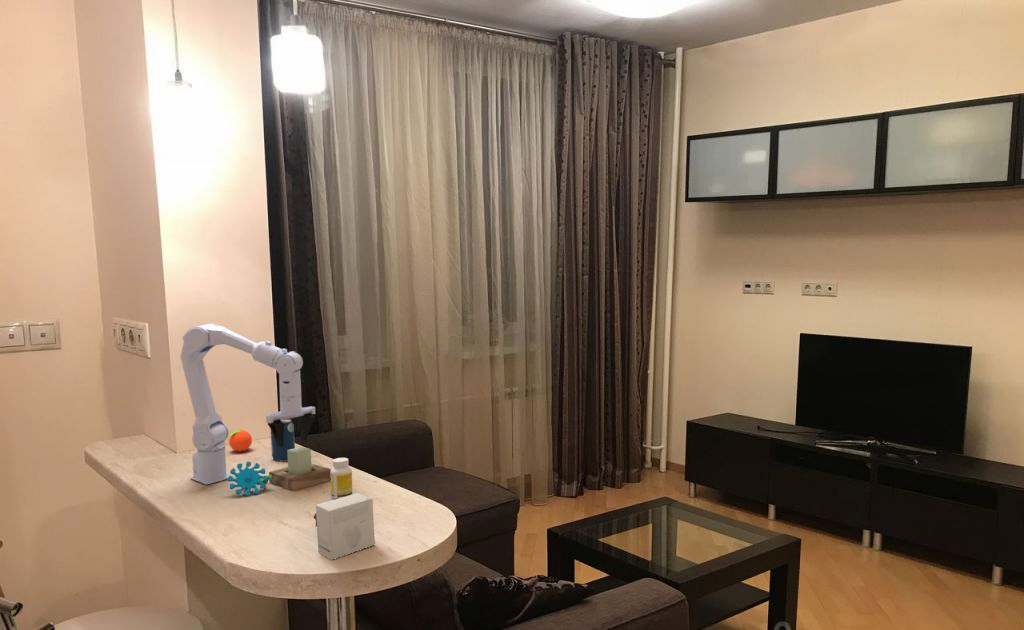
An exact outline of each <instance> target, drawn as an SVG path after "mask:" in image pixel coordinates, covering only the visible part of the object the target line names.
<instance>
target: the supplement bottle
mask: <svg viewBox="0 0 1024 630" xmlns="http://www.w3.org/2000/svg"><path fill="white" fill-rule="evenodd" d="M332 466H333V467H332V468H330V469H331V471H330V475H331V480H330V495H331V498H332V500H334V499H336V498H342V497H346V496H349V495H353V473H352V472H353V471H352V468H351V467H350V466H349V458H347V457H337V458H334V459H332Z"/></svg>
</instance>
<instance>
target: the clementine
mask: <svg viewBox="0 0 1024 630" xmlns="http://www.w3.org/2000/svg"><path fill="white" fill-rule="evenodd" d="M227 440H228V443H229V446H230V448H231V449H232V450H234V452H237V453H238V452H240V453H241V452H244V451H246V450H249V448H250V447H251V446H252V443H253V442H252V441H253V439H252V435H251V433H249V431H247V430H246V429H239V430H236V431H233V432H231V433H230V435H229V436H228V439H227Z"/></svg>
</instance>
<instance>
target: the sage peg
mask: <svg viewBox="0 0 1024 630" xmlns="http://www.w3.org/2000/svg"><path fill="white" fill-rule="evenodd" d="M287 454H288V460H287V467H288V473H290V474H293V475H301V474H304V473H308V472H311V471H312V468H311V463H312V449H311V448H307V447H303V446H298V447H295V448H294V449H290V450H287Z"/></svg>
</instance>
